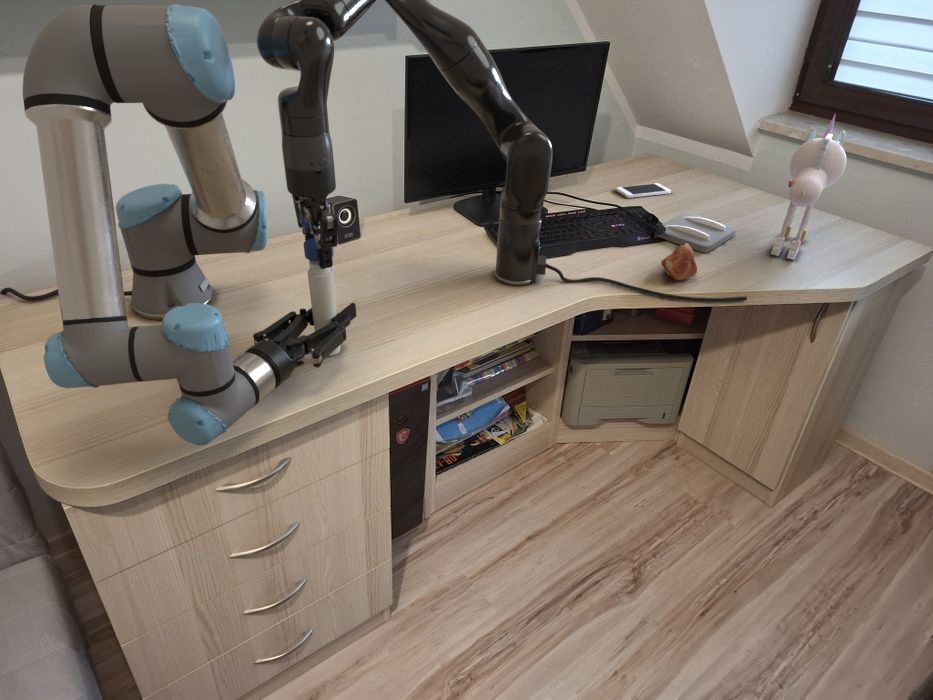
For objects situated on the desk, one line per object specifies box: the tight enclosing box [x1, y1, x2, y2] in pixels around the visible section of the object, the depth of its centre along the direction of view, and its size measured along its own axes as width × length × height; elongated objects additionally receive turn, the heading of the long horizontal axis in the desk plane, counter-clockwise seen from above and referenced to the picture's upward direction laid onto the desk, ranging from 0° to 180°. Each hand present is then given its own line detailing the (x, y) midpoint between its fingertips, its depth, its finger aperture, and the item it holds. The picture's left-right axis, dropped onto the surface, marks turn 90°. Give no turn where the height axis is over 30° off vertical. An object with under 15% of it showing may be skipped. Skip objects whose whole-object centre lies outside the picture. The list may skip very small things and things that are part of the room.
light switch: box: [654, 212, 737, 253], centre depth 167 cm, size 18×3×15 cm
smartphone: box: [615, 182, 672, 199], centre depth 194 cm, size 7×16×1 cm, turn 111°
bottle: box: [307, 260, 342, 357], centre depth 113 cm, size 4×4×18 cm
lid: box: [303, 238, 335, 261], centre depth 106 cm, size 5×5×2 cm
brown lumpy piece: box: [660, 243, 698, 281], centre depth 146 cm, size 13×8×10 cm
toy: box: [770, 112, 847, 261], centre depth 159 cm, size 12×36×30 cm, turn 148°
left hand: (342, 306), depth 118 cm, fingers closed on bottle, 4 cm apart
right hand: (319, 260), depth 108 cm, fingers closed on lid, 4 cm apart
